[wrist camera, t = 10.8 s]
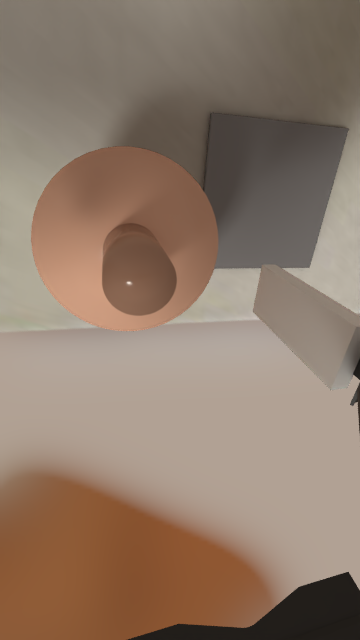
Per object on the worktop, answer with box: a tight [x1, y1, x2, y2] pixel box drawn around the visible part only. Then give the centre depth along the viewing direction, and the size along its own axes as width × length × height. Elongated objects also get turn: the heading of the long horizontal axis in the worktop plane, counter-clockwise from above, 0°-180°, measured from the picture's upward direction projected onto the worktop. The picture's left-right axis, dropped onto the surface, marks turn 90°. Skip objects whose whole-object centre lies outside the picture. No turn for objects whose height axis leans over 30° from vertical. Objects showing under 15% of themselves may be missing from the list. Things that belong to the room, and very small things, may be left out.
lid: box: [31, 146, 218, 331], centre depth 19 cm, size 13×13×7 cm
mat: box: [203, 113, 349, 269], centre depth 32 cm, size 15×15×1 cm
